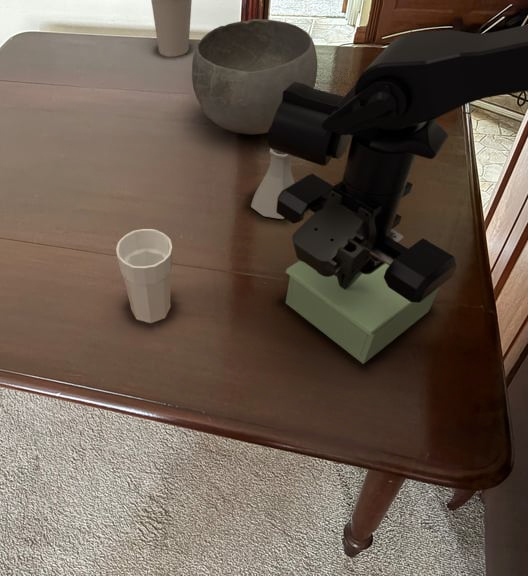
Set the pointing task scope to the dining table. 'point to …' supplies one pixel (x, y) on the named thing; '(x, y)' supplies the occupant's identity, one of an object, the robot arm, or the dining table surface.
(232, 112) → the bowl
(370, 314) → the lid
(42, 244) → the dining table surface
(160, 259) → the cup
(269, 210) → the flask
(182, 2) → the coffee cup
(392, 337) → the file box
